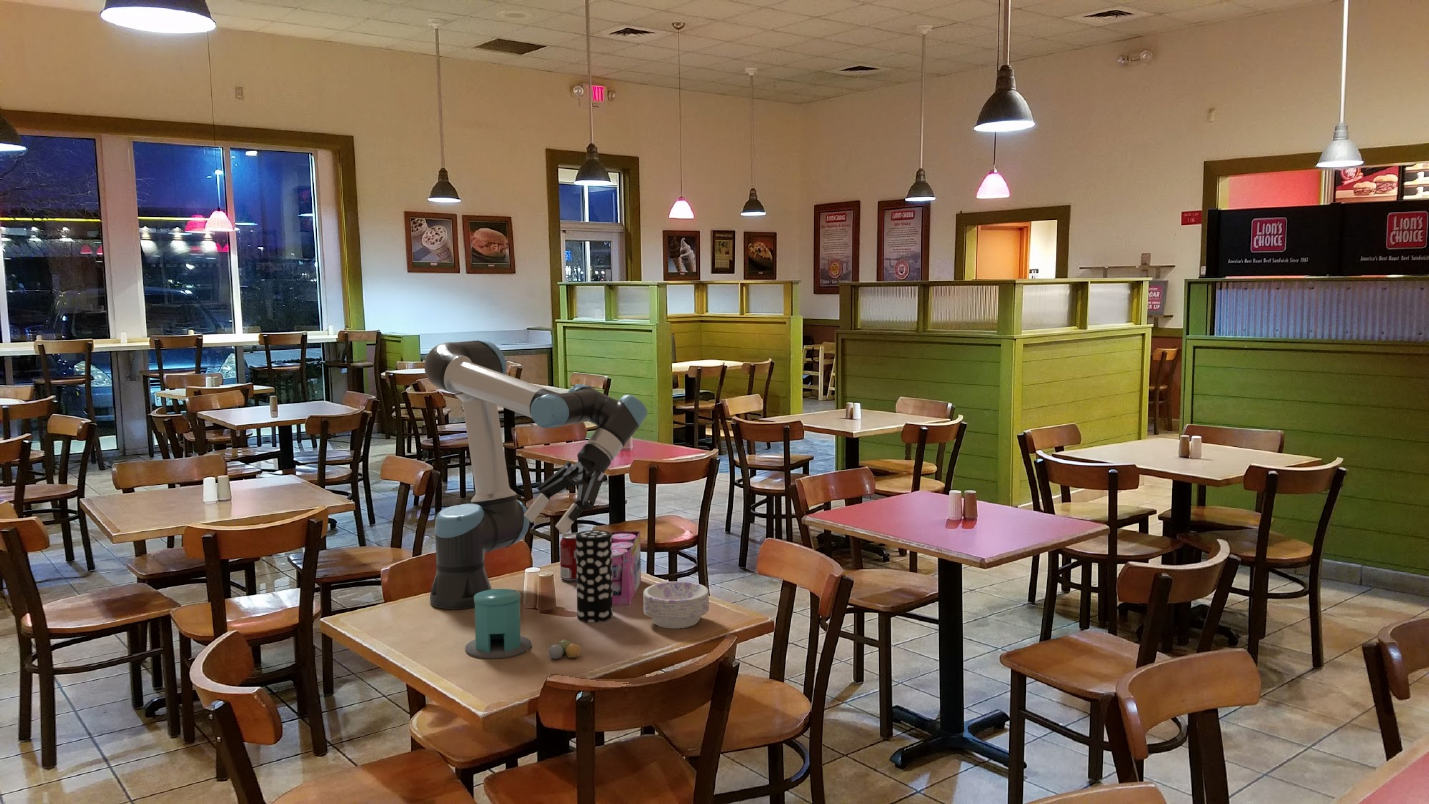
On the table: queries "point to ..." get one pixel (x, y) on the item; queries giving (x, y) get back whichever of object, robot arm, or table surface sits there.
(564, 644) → the olive marble
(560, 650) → the grey marble
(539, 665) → the table surface
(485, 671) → the table surface
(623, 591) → the gum box
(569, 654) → the amber marble
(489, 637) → the teal piece
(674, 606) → the paper bowls
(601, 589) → the spotted tube
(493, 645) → the coaster
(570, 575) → the soda can
